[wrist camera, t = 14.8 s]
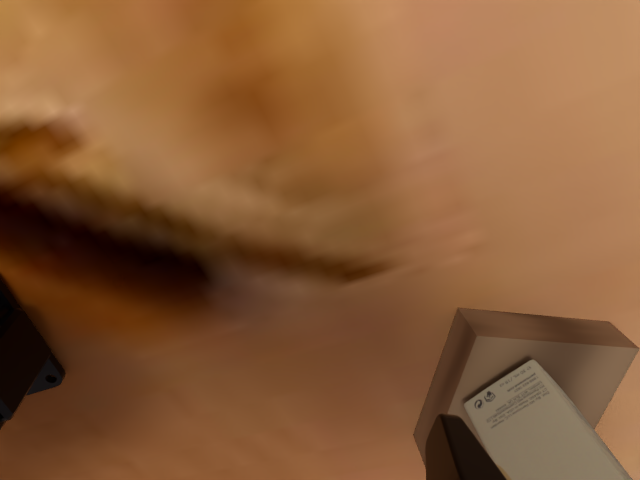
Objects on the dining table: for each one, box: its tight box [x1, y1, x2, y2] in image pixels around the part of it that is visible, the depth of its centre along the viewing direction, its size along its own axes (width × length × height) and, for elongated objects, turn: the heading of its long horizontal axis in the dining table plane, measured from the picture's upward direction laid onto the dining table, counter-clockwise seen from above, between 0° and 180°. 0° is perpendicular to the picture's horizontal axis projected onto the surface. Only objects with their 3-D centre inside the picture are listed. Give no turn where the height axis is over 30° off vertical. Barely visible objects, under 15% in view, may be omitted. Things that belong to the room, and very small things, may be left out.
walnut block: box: [413, 308, 640, 468], centre depth 26 cm, size 9×9×3 cm
